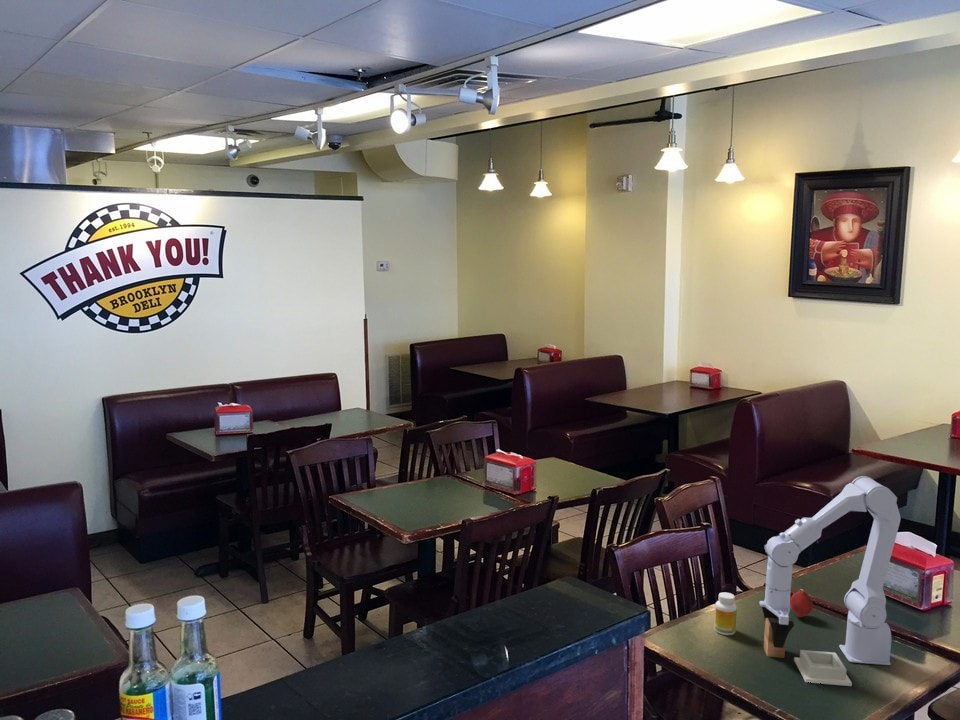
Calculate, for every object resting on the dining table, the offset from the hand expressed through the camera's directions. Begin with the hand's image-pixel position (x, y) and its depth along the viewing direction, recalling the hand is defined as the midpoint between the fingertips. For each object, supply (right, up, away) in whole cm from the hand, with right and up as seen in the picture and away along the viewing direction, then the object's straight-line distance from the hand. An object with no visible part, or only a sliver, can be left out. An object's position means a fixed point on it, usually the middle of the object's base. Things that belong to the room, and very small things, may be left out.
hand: (774, 639), depth 190 cm
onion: (+15, -2, +21) cm, 25 cm away
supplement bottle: (-9, -2, +12) cm, 15 cm away
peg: (0, -4, 0) cm, 4 cm away
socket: (+8, -5, -9) cm, 13 cm away
